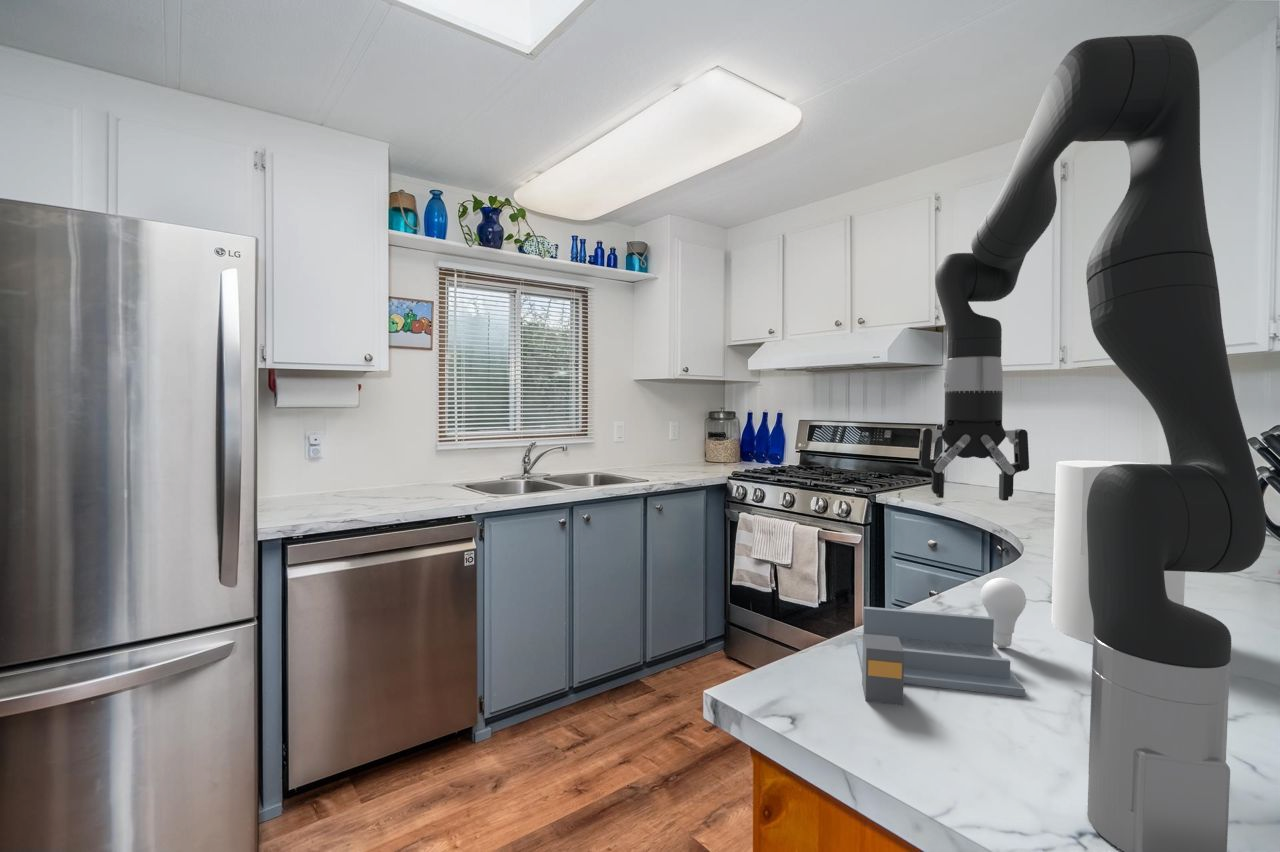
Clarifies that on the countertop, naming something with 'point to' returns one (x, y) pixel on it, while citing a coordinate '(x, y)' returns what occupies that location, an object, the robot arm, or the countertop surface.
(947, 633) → the grey stepped stand
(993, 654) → the plate
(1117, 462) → the cylinder
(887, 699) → the block
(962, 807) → the countertop surface
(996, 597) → the lightbulb
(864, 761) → the countertop surface
